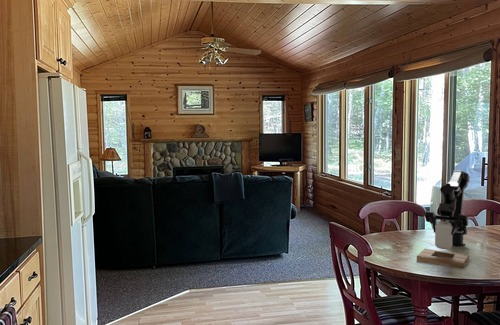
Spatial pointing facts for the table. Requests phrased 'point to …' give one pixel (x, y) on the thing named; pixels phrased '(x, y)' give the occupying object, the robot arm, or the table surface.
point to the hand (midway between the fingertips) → (443, 233)
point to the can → (443, 235)
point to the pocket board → (447, 259)
